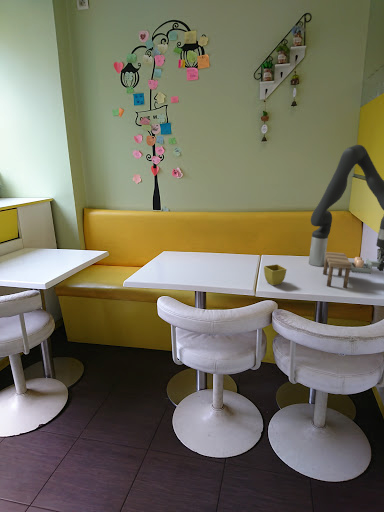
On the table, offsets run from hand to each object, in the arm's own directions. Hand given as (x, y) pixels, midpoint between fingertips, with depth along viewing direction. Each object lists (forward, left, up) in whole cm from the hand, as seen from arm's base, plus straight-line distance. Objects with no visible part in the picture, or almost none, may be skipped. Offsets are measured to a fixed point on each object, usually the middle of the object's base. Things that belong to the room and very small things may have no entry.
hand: (380, 269), depth 179 cm
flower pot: (+13, -53, -9) cm, 56 cm away
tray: (0, -6, -1) cm, 6 cm away
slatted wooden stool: (0, -21, -8) cm, 23 cm away
